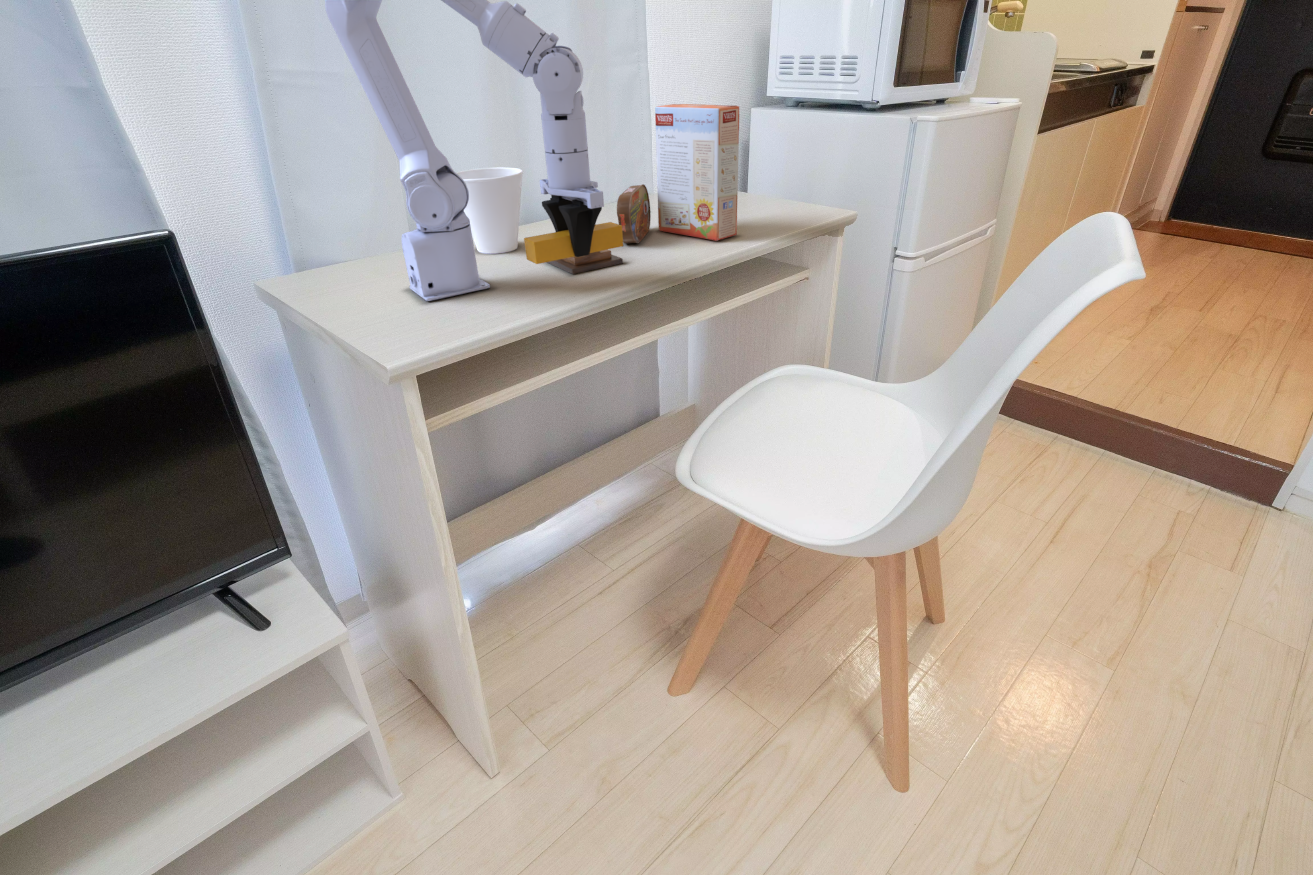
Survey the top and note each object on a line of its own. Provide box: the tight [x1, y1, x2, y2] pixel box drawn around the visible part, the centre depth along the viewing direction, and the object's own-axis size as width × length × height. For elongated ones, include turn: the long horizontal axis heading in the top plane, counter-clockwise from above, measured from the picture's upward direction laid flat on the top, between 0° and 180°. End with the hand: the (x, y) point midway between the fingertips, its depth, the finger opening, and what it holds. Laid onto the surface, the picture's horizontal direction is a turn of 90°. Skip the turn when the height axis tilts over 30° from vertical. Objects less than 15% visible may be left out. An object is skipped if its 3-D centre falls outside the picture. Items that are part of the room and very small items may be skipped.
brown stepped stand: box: [546, 249, 624, 275], centre depth 110 cm, size 9×9×3 cm
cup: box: [455, 166, 524, 255], centre depth 117 cm, size 12×12×12 cm
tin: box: [616, 184, 652, 244], centre depth 122 cm, size 15×3×8 cm, turn 168°
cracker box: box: [654, 103, 740, 242], centre depth 120 cm, size 14×6×21 cm, turn 46°
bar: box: [523, 221, 624, 265], centre depth 98 cm, size 14×3×3 cm, turn 125°
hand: (575, 253), depth 99 cm, fingers closed on bar, 3 cm apart
